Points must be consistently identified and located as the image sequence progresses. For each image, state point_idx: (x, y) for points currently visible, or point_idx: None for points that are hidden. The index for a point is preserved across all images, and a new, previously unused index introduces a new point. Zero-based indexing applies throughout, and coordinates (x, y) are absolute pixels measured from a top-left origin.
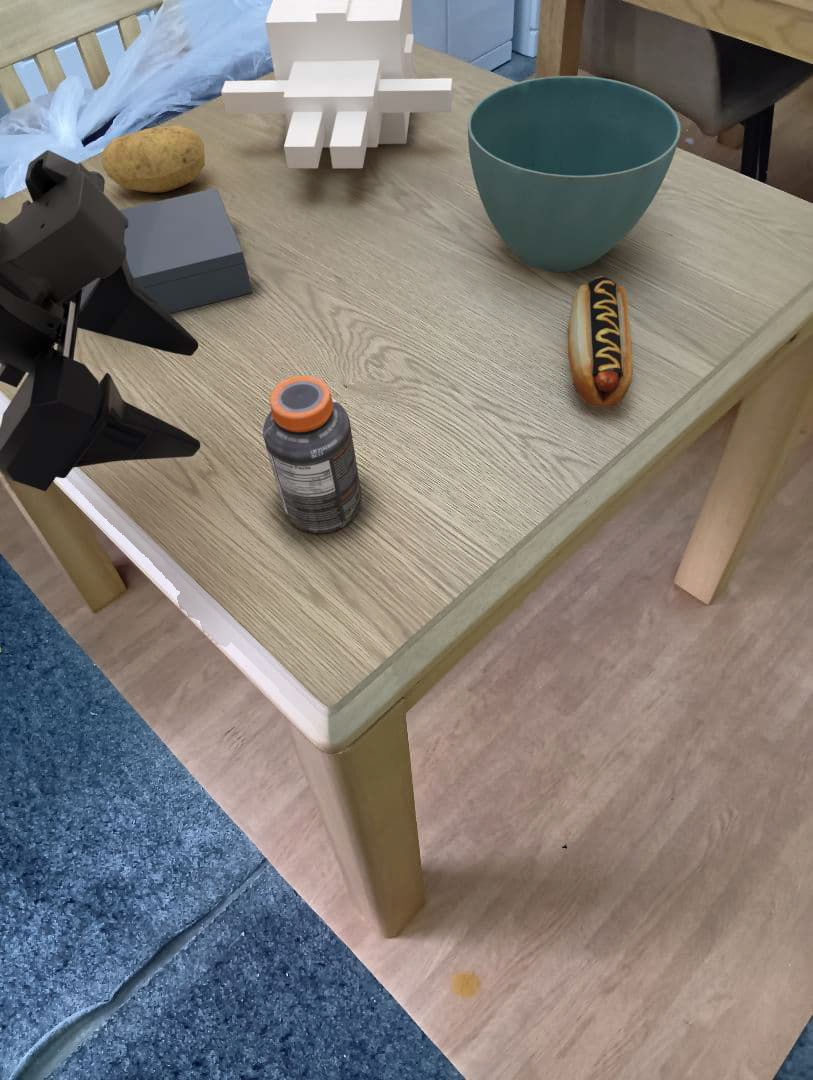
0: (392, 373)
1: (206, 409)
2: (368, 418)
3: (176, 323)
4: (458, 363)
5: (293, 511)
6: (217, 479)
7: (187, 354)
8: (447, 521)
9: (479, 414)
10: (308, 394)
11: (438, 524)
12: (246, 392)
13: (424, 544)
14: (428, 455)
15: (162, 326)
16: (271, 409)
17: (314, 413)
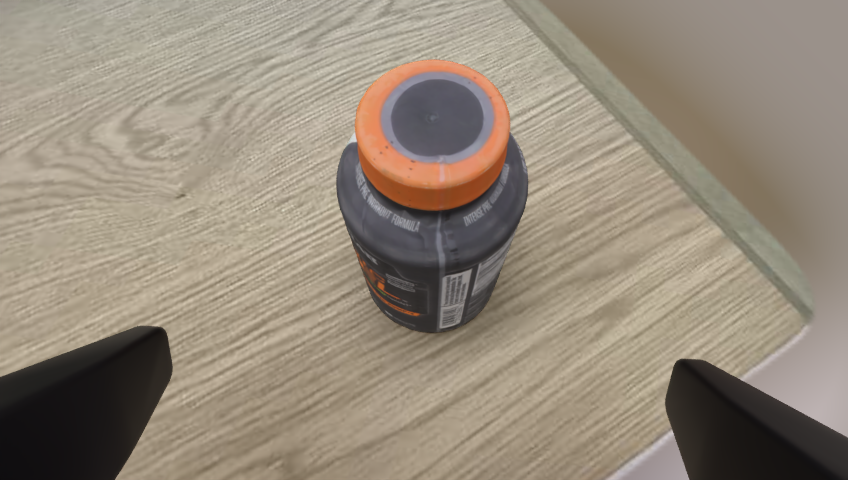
0: (188, 126)
1: None
2: (270, 176)
3: (45, 368)
4: (214, 45)
5: (480, 303)
6: (311, 452)
7: (165, 381)
8: None
9: (325, 44)
10: (439, 97)
11: None
12: None
13: (539, 153)
14: None
15: (40, 432)
16: (445, 193)
17: (502, 98)
